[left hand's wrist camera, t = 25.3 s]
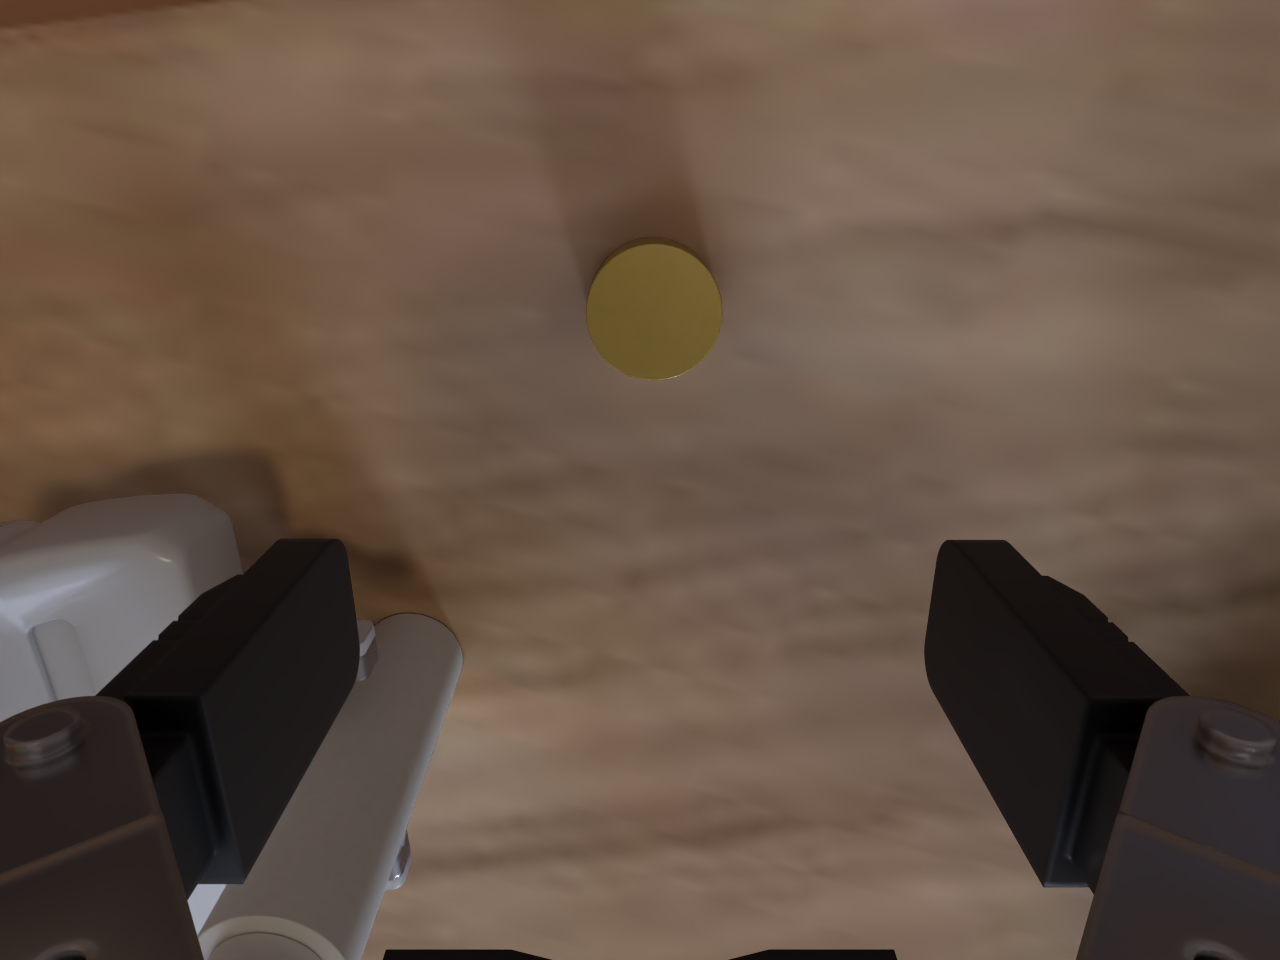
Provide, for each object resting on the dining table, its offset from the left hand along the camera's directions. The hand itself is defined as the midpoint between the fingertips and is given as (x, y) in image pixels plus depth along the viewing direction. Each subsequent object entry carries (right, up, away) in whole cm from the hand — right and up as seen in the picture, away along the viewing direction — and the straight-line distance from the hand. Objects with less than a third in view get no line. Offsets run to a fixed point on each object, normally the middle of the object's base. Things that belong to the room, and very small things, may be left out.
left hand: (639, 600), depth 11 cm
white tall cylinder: (-10, -6, +25) cm, 28 cm away
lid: (0, +8, +17) cm, 19 cm away
